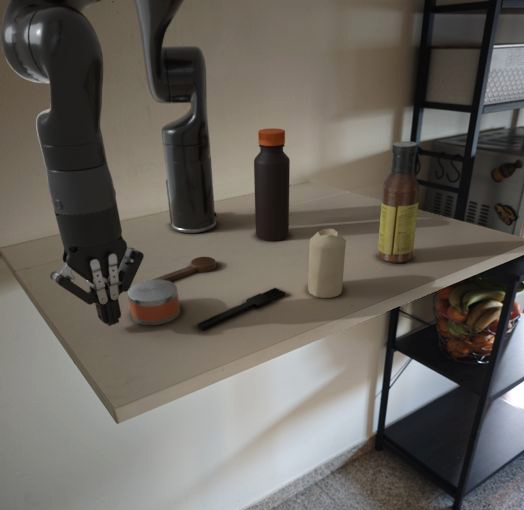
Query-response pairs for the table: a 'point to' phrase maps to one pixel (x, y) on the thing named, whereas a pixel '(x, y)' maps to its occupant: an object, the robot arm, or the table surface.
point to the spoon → (191, 268)
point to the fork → (243, 307)
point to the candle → (326, 263)
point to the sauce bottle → (399, 205)
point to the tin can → (154, 302)
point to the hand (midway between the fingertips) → (111, 322)
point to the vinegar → (271, 186)
